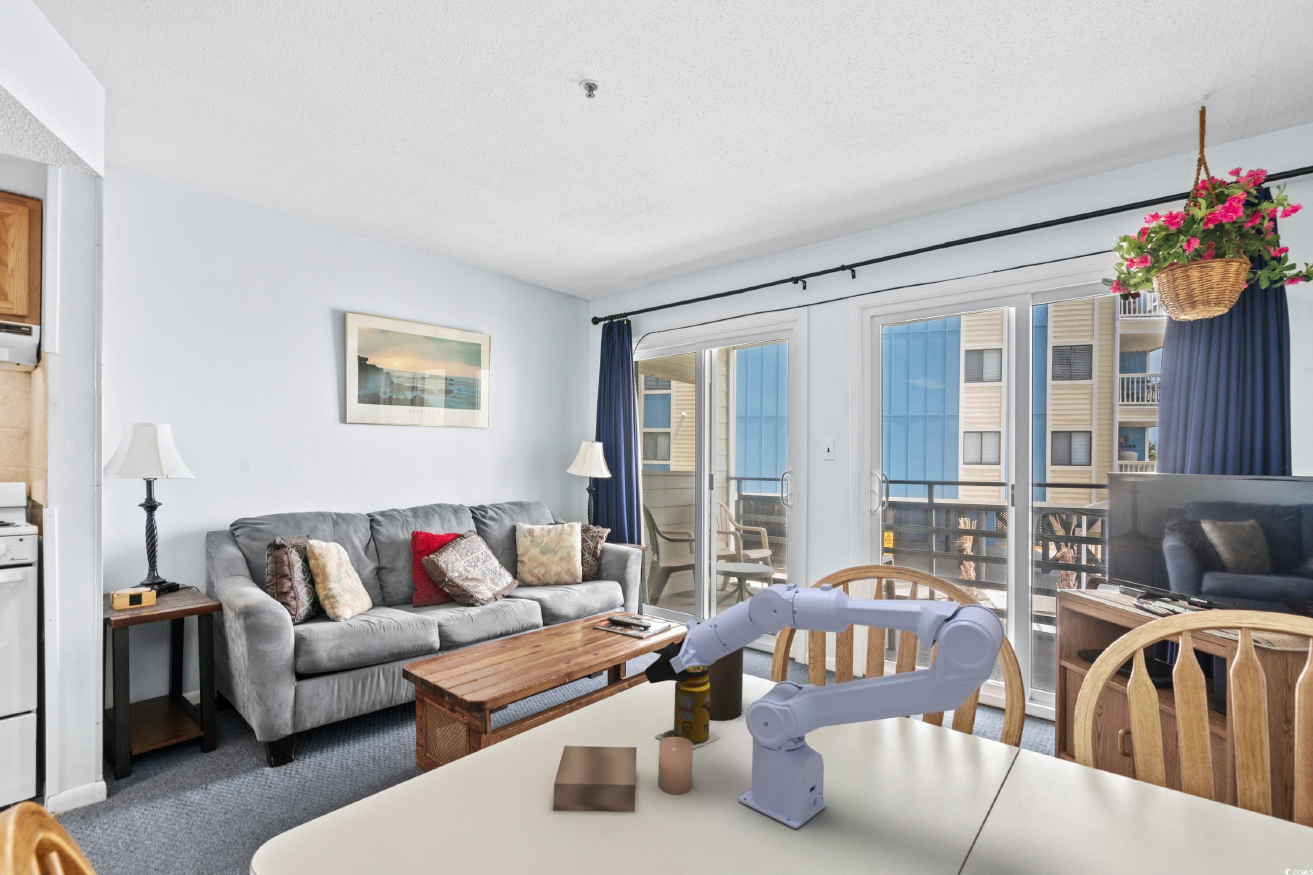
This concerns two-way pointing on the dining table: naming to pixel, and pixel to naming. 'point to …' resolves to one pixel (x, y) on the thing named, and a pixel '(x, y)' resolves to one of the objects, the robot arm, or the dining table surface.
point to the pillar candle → (726, 686)
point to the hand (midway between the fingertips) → (660, 666)
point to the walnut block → (596, 779)
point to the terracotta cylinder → (675, 765)
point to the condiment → (692, 709)
